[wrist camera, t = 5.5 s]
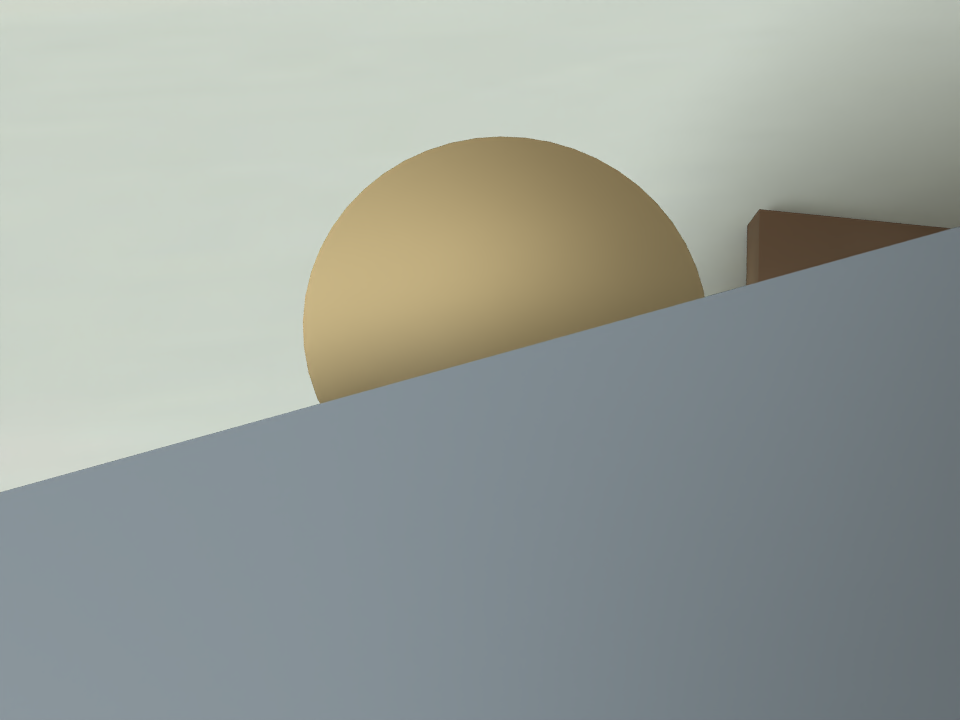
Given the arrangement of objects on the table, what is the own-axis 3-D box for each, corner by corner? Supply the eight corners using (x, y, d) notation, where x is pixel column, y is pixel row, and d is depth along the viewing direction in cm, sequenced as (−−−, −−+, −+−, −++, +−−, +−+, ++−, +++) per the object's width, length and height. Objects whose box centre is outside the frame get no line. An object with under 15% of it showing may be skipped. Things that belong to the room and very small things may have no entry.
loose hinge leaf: (706, 750, 15) (1639, 1233, 3) (402, 851, 14) (156, 1874, 3) (592, 408, 16) (933, -130, 5) (312, 487, 16) (-95, 111, 4)
